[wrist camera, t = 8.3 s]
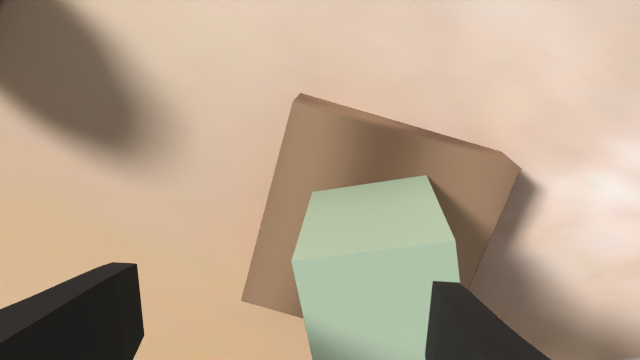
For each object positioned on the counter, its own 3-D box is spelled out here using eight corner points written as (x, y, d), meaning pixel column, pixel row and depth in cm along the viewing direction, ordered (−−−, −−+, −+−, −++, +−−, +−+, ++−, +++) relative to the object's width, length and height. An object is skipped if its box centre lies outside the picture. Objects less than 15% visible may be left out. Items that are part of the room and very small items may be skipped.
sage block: (426, 175, 18) (455, 240, 13) (438, 278, 20) (470, 379, 14) (312, 191, 19) (291, 261, 13) (331, 291, 20) (320, 392, 15)
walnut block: (498, 149, 21) (520, 168, 18) (428, 317, 24) (438, 356, 21) (301, 91, 21) (292, 102, 18) (255, 267, 24) (241, 300, 21)
